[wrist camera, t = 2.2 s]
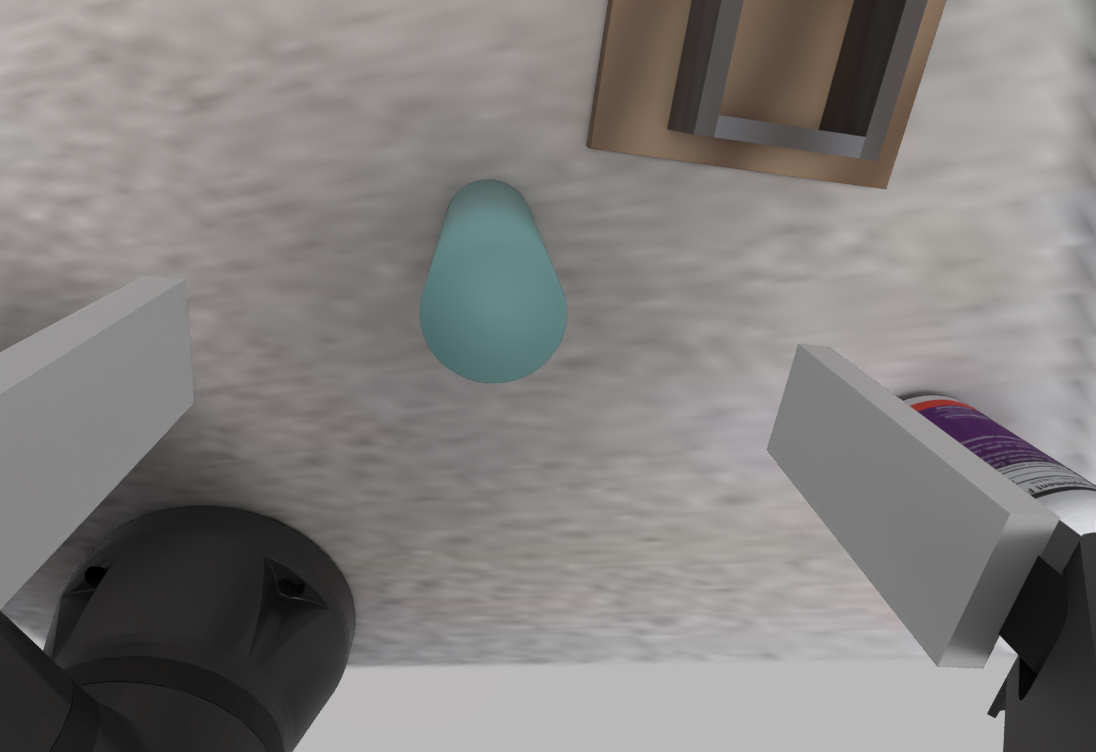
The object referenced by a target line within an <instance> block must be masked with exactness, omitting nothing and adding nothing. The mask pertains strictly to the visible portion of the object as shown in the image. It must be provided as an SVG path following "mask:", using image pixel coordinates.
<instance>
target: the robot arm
mask: <svg viewBox="0 0 1096 752" xmlns="http://www.w3.org/2000/svg"><path fill="white" fill-rule="evenodd" d="M193 404H194V392H193V378H192V364H191V350H190V336H189V322H188V308H187V294H186V280H185V279H181V278H171V277H162V276H153V275H143V276H141V277H139V278H138V279H136V280H134V281H132V282H130V283H128V284H126V285H124V286H123V287H121V288H119V289H117V290H115V291H113V292H111V293H109V294H108V295H106V296H104V297H102V298H100V299H98V300H96V301H95V302H93V303H91V304H89V305H87V306H85V307H83V308H81V309H80V310H78V311H76V312H74V313H72V314H70V315H68V316H67V317H65V318H63V319H61V320H59V321H57V322H55V323H53V324H52V325H50V326H48V327H46V328H44V329H42V330H40V331H39V332H37V333H35V334H33V335H31V336H29V337H27V338H25V339H24V340H22V341H20V342H18V343H16V344H14V345H12V346H10V347H9V348H7V349H5V350H3V351H1V352H0V610H1V608H2V607H3V606H4V605H5V604H6V603H7V602H8V601H9V600H10V599H11V598H12V597H13V596H14V595H15V594H16V592H17V591H18V590H19V589H20V588H21V587H22V586H23V585H24V584H25V583H26V582H27V581H28V580H29V579H30V578H31V576H32V575H33V574H34V573H35V572H36V571H37V570H38V569H39V568H40V567H41V566H42V565H43V564H44V563H45V562H46V560H47V559H48V558H49V557H50V556H51V555H52V554H53V553H54V552H55V551H56V550H57V549H58V548H59V547H60V546H61V544H62V543H63V542H64V541H65V540H66V539H67V538H68V537H69V536H70V535H71V534H72V533H73V532H74V531H75V530H76V528H77V527H78V526H79V525H80V524H81V523H82V522H83V521H84V520H85V519H86V518H87V517H88V516H89V515H90V514H91V512H92V511H93V510H94V509H95V508H96V507H97V506H98V505H99V504H100V503H101V502H102V501H103V500H104V499H105V498H106V496H107V495H108V494H109V493H110V492H111V491H112V490H113V489H114V488H115V487H116V486H117V485H118V484H119V483H120V481H121V480H122V479H123V478H124V477H125V476H126V475H127V474H128V473H129V472H130V471H131V470H132V469H133V468H134V467H135V465H136V464H137V463H138V462H139V461H140V460H141V459H142V458H143V457H144V456H145V455H146V454H147V453H148V452H149V451H150V449H151V448H152V447H153V446H154V445H155V444H156V443H157V442H158V441H159V440H160V439H161V438H162V437H163V436H164V435H165V433H166V432H167V431H168V430H169V429H170V428H171V427H172V426H173V425H174V424H175V423H176V422H177V421H178V420H179V419H180V417H181V416H182V415H183V414H184V413H185V412H186V411H187V410H188V409H189V408H190V407H191V406H192V405H193ZM767 451H768V452H769V454H770V455H771V456H772V457H773V459H774V460H775V461H776V462H777V464H778V465H779V466H780V468H781V469H782V470H783V471H784V473H785V474H786V475H787V476H788V478H789V479H790V480H791V481H792V483H793V484H794V485H795V487H796V488H797V489H798V490H799V492H800V493H801V494H802V495H803V497H804V498H805V499H806V501H807V502H808V503H809V504H810V506H811V507H812V508H813V509H814V511H815V512H816V513H817V514H818V516H819V517H820V518H821V520H822V521H823V522H824V523H825V525H826V526H827V527H828V528H829V530H830V531H831V532H832V534H833V535H834V536H835V537H836V539H837V540H838V541H839V542H840V544H841V545H842V546H843V547H844V549H845V550H846V551H847V553H848V554H849V555H850V556H851V558H852V559H853V560H854V561H855V563H856V564H857V565H858V567H859V568H860V569H861V570H862V572H863V573H864V574H865V575H866V577H867V578H868V579H869V580H870V582H871V583H872V584H873V586H874V587H875V588H876V589H877V591H878V592H879V593H880V594H881V596H882V597H883V598H884V600H885V601H886V602H887V603H888V605H889V606H890V607H891V608H892V610H893V611H894V612H895V613H896V615H897V616H898V617H899V619H900V620H901V621H902V622H903V624H904V625H905V626H906V627H907V629H908V630H909V631H910V633H911V634H912V635H913V636H914V638H915V639H916V640H917V641H918V643H919V644H920V645H921V646H922V648H923V649H924V650H925V652H926V653H927V654H928V655H929V657H930V658H931V659H932V660H933V662H934V663H935V664H936V665H937V667H958V668H984V666H985V664H986V662H987V660H988V658H989V656H990V654H991V652H992V650H993V648H994V646H995V644H996V642H997V640H998V638H999V637H1000V636H1001V637H1002V638H1003V640H1004V641H1005V642H1006V643H1007V644H1008V645H1009V646H1010V647H1011V648H1012V649H1013V650H1014V651H1015V652H1016V653H1017V654H1018V657H1017V659H1016V660H1015V662H1014V664H1013V666H1012V668H1011V670H1010V672H1009V674H1008V675H1007V677H1006V679H1005V681H1004V683H1003V685H1002V687H1001V689H1000V690H999V692H998V694H997V696H996V698H995V700H994V702H993V703H992V705H991V708H990V709H989V711H988V713H987V714H988V715H990V716H992V717H994V718H996V716H997V715H998V713H999V711H1001V710H1005V727H1004V747H1003V752H1096V532H1092V533H1086V534H1083V535H1082V536H1081V535H1080V534H1078V533H1077V532H1075V531H1074V530H1073V529H1071V528H1070V527H1069V526H1067V525H1066V524H1065V523H1063V522H1062V521H1061V520H1059V519H1060V517H1059V516H1058V515H1057V514H1055V513H1054V512H1052V511H1051V510H1050V509H1048V508H1047V507H1046V506H1044V505H1043V504H1042V503H1040V502H1039V501H1038V500H1036V499H1035V498H1033V497H1032V496H1031V495H1029V494H1028V493H1027V492H1025V491H1024V490H1023V489H1021V488H1020V487H1019V486H1017V485H1016V484H1015V483H1013V482H1012V481H1010V480H1009V479H1008V478H1006V477H1005V476H1004V475H1002V474H1001V473H1000V472H998V471H997V470H996V469H994V468H993V467H992V466H990V465H989V464H987V463H986V462H985V461H983V460H982V459H981V458H979V457H978V456H977V455H975V454H974V453H973V452H971V451H970V450H968V449H967V448H966V447H964V446H963V445H962V444H960V443H959V442H958V441H956V440H955V439H954V438H952V437H951V436H950V435H948V434H947V433H945V432H944V431H943V430H941V429H940V428H939V427H937V426H936V425H935V424H933V423H932V422H931V421H929V420H928V419H927V418H925V417H924V416H922V415H921V414H920V413H918V412H917V411H916V410H914V409H913V408H912V407H910V406H909V405H908V404H906V403H905V402H903V401H902V400H901V399H899V398H898V397H897V396H895V395H894V394H893V393H891V392H890V391H889V390H887V389H886V388H885V387H883V386H882V385H880V384H879V383H878V382H876V381H875V380H874V379H872V378H871V377H870V376H868V375H867V374H866V373H864V372H863V371H862V370H860V369H859V368H857V367H856V366H855V365H853V364H852V363H851V362H849V361H848V360H847V359H845V358H844V357H843V356H841V355H840V354H839V353H837V352H836V351H834V350H833V349H832V348H830V347H824V346H814V345H805V344H798V347H797V350H796V354H795V357H794V361H793V364H792V367H791V371H790V374H789V377H788V381H787V384H786V387H785V391H784V394H783V397H782V401H781V404H780V407H779V411H778V414H777V417H776V421H775V424H774V427H773V431H772V434H771V437H770V441H769V444H768V448H767ZM354 629H355V612H354V605H353V601H352V597H351V594H350V591H349V589H348V586H347V584H346V582H345V580H344V578H343V577H342V575H341V574H340V572H339V570H338V569H337V568H336V566H335V565H334V564H333V563H332V561H331V560H330V559H329V558H328V557H327V556H326V555H325V554H324V553H323V552H322V551H321V550H320V549H319V548H318V547H317V546H315V545H314V544H313V543H312V542H310V541H309V540H308V539H306V538H305V537H303V536H302V535H300V534H299V533H297V532H296V531H294V530H292V529H290V528H288V527H287V526H285V525H282V524H280V523H278V522H276V521H273V520H271V519H269V518H266V517H263V516H260V515H257V514H253V513H250V512H246V511H241V510H236V509H230V508H224V507H212V506H190V507H179V508H173V509H167V510H163V511H158V512H155V513H151V514H148V515H145V516H142V517H140V518H137V519H135V520H133V521H131V522H129V523H127V524H125V525H123V526H121V527H120V528H118V529H117V530H115V531H114V532H112V533H111V534H110V535H109V536H107V537H106V538H105V539H104V540H103V541H102V542H101V543H100V544H99V545H98V546H97V547H96V548H95V549H94V550H93V552H92V553H91V554H90V555H89V556H88V558H87V559H86V560H85V561H84V562H83V563H82V565H81V566H80V567H79V568H78V569H77V571H76V572H75V573H74V574H73V576H72V577H71V579H70V580H69V582H68V583H67V585H66V587H65V589H64V590H63V592H62V594H61V596H60V599H59V601H58V604H57V607H56V611H55V614H54V617H53V620H52V624H51V627H50V630H49V633H48V636H47V640H46V643H45V646H44V649H43V650H41V649H40V648H39V647H38V646H37V645H36V644H35V643H34V642H33V641H32V640H31V639H30V638H29V637H28V636H27V635H26V634H25V633H23V632H22V631H21V630H20V629H19V628H18V627H17V626H16V625H15V624H14V623H13V622H12V621H11V620H10V619H9V618H8V617H6V616H5V615H4V614H3V613H2V612H1V611H0V752H293V750H294V748H295V747H296V746H297V744H298V743H299V741H300V740H301V739H302V737H303V736H304V734H305V732H306V731H307V730H308V728H309V727H310V726H311V724H312V723H313V721H314V720H315V718H316V717H317V715H318V714H319V713H320V711H321V710H322V708H323V707H324V705H325V704H326V702H327V701H328V700H329V698H330V697H331V695H332V694H333V692H334V691H335V689H336V688H337V686H338V684H339V682H340V680H341V678H342V675H343V673H344V670H345V668H346V664H347V661H348V656H349V652H350V648H351V644H352V640H353V635H354Z"/></svg>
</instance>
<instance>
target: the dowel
mask: <svg viewBox="0 0 1096 752" xmlns="http://www.w3.org/2000/svg"><path fill="white" fill-rule="evenodd" d="M566 317H567V311H566V302H565V296H564V293H563V290H562V288H561V285H560V283H559V280H558V278H557V275H556V273H555V270H554V268H553V265H552V263H551V261H550V258H549V256H548V253H547V251H546V248H545V246H544V243H543V241H542V238H541V236H540V234H539V231H538V229H537V226H536V224H535V221H534V219H533V216H532V214H531V212H530V209H529V207H528V205H527V203H526V201H525V199H524V198H523V197H522V195H521V194H520V193H519V192H518V191H517V190H516V189H514V188H513V187H511V186H510V185H508V184H506V183H503V182H500V181H496V180H480V181H476V182H473V183H471V184H469V185H467V186H465V187H464V188H462V189H461V190H460V191H459V192H458V193H457V194H456V195H455V196H454V198H453V199H452V201H451V203H450V205H449V207H448V211H447V214H446V217H445V221H444V224H443V227H442V231H441V234H440V237H439V241H438V244H437V247H436V251H435V254H434V257H433V261H432V264H431V267H430V271H429V274H428V277H427V281H426V284H425V287H424V291H423V294H422V298H421V304H420V323H421V328H422V332H423V335H424V338H425V340H426V342H427V345H428V346H429V348H430V349H431V351H432V353H433V354H434V355H435V356H436V358H437V359H438V360H439V361H440V362H441V363H442V364H443V365H444V366H446V367H447V368H448V369H450V370H451V371H452V372H454V373H456V374H458V375H460V376H462V377H464V378H467V379H469V380H473V381H477V382H483V383H505V382H510V381H514V380H517V379H520V378H523V377H525V376H527V375H529V374H531V373H533V372H534V371H536V370H537V369H539V368H540V367H541V366H542V365H543V364H545V363H546V362H547V360H548V359H549V358H550V357H551V356H552V355H553V353H554V352H555V350H556V349H557V347H558V345H559V343H560V342H561V339H562V336H563V334H564V330H565V326H566Z"/></svg>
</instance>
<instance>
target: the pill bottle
mask: <svg viewBox="0 0 1096 752" xmlns="http://www.w3.org/2000/svg"><path fill="white" fill-rule="evenodd" d="M903 402H905V403H906V404H908V405H909V406H910V407H912V408H913V409H914V410H916V411H917V412H918V413H920V414H921V415H922V416H924V417H925V418H927V419H928V420H929V421H931V422H932V423H933V424H935V425H936V426H937V427H939V428H940V429H941V430H943V431H944V432H945V433H947V434H948V435H950V436H951V437H952V438H954V439H955V440H956V441H958V442H959V443H960V444H962V445H963V446H964V447H966V448H967V449H968V450H970V451H971V452H973V453H974V454H975V455H977V456H978V457H979V458H981V459H982V460H983V461H985V462H986V463H987V464H989V465H990V466H992V467H993V468H994V469H996V470H997V471H998V472H1000V473H1001V474H1002V475H1004V476H1005V477H1006V478H1008V479H1009V480H1010V481H1012V482H1013V483H1015V484H1016V485H1017V486H1019V487H1020V488H1021V489H1023V490H1024V491H1025V492H1027V493H1028V494H1029V495H1031V496H1032V497H1033V498H1035V499H1036V500H1038V501H1039V502H1040V503H1042V504H1043V505H1044V506H1046V507H1047V508H1048V509H1050V510H1051V511H1052V512H1054V513H1055V514H1057V515H1058V516H1059V517H1060V519H1059V520H1061V521H1062V522H1063V523H1065V524H1066V525H1067V526H1069V527H1070V528H1071V529H1073V530H1074V531H1075V532H1077V533H1078V534H1080V535H1081V536H1082V535H1083V534H1086V533H1092V532H1096V485H1094V484H1092V483H1091V482H1089V481H1088V480H1086V479H1084V478H1083V477H1081V476H1080V475H1078V474H1077V473H1075V472H1073V471H1072V470H1070V469H1069V468H1067V467H1065V466H1064V465H1062V464H1061V463H1059V462H1058V461H1056V460H1054V459H1053V458H1051V457H1050V456H1048V455H1046V454H1045V453H1043V452H1042V451H1040V450H1039V449H1037V448H1035V447H1034V446H1032V445H1031V444H1029V443H1027V442H1026V441H1024V440H1023V439H1021V438H1020V437H1018V436H1016V435H1015V434H1013V433H1012V432H1010V431H1009V430H1007V429H1005V428H1004V427H1002V426H1001V425H999V424H997V423H996V422H994V421H993V420H991V419H990V418H988V417H987V416H985V415H984V414H982V413H980V412H979V411H977V410H976V409H974V408H973V407H970V406H969V405H967V404H965V403H964V402H962V401H959V400H956V399H954V398H950V397H946V396H938V395H928V396H919V397H914V398H910V399H907V400H904V401H903ZM995 647H997V648H1000V649H1002V650H1004V651H1007V652H1010V653H1014V654H1017V653H1016V652H1015V651H1014V650H1013V649H1012V648H1011V647H1010V646H1009V645H1008V644H1007V643H1006V642H1005V641H1004V640H1003V638H1002V637H1001V636H1000V637H999V638H998V640H997V642H996V644H995ZM1017 655H1018V654H1017Z"/></svg>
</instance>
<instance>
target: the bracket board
mask: <svg viewBox="0 0 1096 752" xmlns="http://www.w3.org/2000/svg"><path fill="white" fill-rule="evenodd" d="M945 3H946V0H609V1H608V7H607V14H606V21H605V27H604V34H603V41H602V47H601V54H600V61H599V67H598V74H597V81H596V87H595V94H594V101H593V107H592V114H591V121H590V127H589V134H588V141H587V146H588V147H590V148H594V149H601V150H608V151H615V152H622V153H630V154H637V155H644V156H651V157H658V158H665V159H673V160H680V161H687V162H694V163H701V164H709V165H716V166H723V167H730V168H737V169H744V170H752V171H759V172H766V173H773V174H780V175H787V176H795V177H802V178H809V179H816V180H823V181H830V182H838V183H845V184H852V185H859V186H866V187H873V188H881V189H886V188H887V185H888V182H889V179H890V175H891V172H892V169H893V166H894V163H895V160H896V157H897V153H898V150H899V147H900V144H901V141H902V138H903V135H904V132H905V128H906V125H907V122H908V119H909V116H910V113H911V110H912V106H913V103H914V100H915V97H916V94H917V91H918V88H919V85H920V81H921V78H922V75H923V72H924V69H925V66H926V63H927V59H928V56H929V53H930V50H931V47H932V44H933V41H934V38H935V34H936V31H937V28H938V25H939V22H940V19H941V16H942V13H943V9H944V6H945Z"/></svg>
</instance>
